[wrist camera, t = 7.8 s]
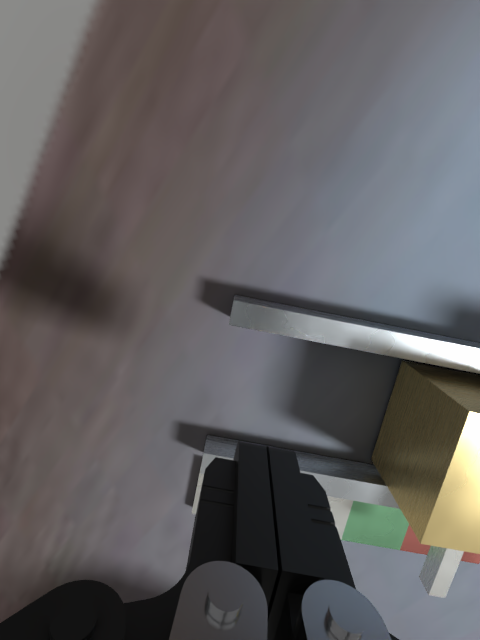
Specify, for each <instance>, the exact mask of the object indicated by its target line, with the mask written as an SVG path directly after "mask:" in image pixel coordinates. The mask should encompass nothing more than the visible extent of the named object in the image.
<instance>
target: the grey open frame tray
mask: <svg viewBox="0 0 480 640" xmlns="http://www.w3.org/2000/svg"><path fill="white" fill-rule="evenodd" d="M229 325H232V326H237V327H242V328H247V329H253V330H258V331H263V332H268V333H273V334H278V335H284V336H289V337H294V338H299V339H304V340H309V341H314V342H320V343H325V344H330V345H335V346H340V347H345V348H350V349H356V350H361V351H366V352H371V353H376V354H381V355H387V356H392V357H397V358H402V359H407V360H412V361H417V362H423V363H428V364H433V365H438V366H443V367H448V368H453V369H459V370H464V371H469V372H474V373H479V374H480V343H477V342H472V341H467V340H462V339H457V338H452V337H447V336H442V335H437V334H432V333H426V332H421V331H416V330H411V329H406V328H401V327H396V326H391V325H386V324H381V323H376V322H371V321H366V320H361V319H356V318H350V317H345V316H340V315H335V314H330V313H325V312H320V311H315V310H310V309H305V308H300V307H295V306H290V305H285V304H280V303H274V302H269V301H264V300H259V299H254V298H249V297H244V296H239V295H234V300H233V305H232V310H231V315H230V321H229ZM238 441H239V440H234V439H228V438H223V437H217V436H212V435H207V437H206V442H205V447H204V453H203V458H202V463H201V468H200V473H199V478H198V483H197V488H196V493H195V498H194V503H193V509H192V514H196V512H197V507H198V502H199V497H200V492H201V487H202V482H203V477H204V472H205V469H206V467H207V466H208V465H209V464H210V463H211V462H212V461H213V459H214V458H215V457H218V458H223V459H228V460H233V459H234V455H235V450H236V446H237V443H238ZM243 442H245V441H243ZM248 443H250V442H248ZM254 444H256V443H254ZM259 445H261V444H259ZM264 446H266V447H267V445H264ZM270 447H272V446H270ZM276 448H278V447H276ZM281 449H283V448H281ZM286 450H289V449H286ZM292 451H294V450H292ZM295 452H296V456H297V460H298V464H299V469H300V473H305V474H310V475H313V476H314V477H315V478H316V480H317V481H318V482H319V483H320V485H321V486H322V487H323V488H324V490H325V491H326V495H327V498H328V501H329V504H330V507H331V509H330V511H331V512H332V514H333V517H334V520H335V527H337V530H338V533H339V536H340V540H345V541H351V542H356V543H362V544H368V545H374V546H379V547H385V548H391V549H397V550H402V551H408V552H414V553H420V554H425V555H427V554H428V552H429V549H430V547H431V545H425V544H420V542H419V540H418V538H417V537H416V535H415V533H414V532H413V530H412V528H411V526H410V525H409V523H408V521H407V520H406V518H405V516H404V515H403V513H402V511H401V509H400V508H399V506H398V504H397V503H396V501H395V499H394V497H393V496H392V494H391V492H390V491H389V489H388V487H387V485H386V484H385V482H384V480H383V479H382V477H381V475H380V473H379V472H378V470H377V468H376V467H375V465H371V464H365V463H360V462H354V461H349V460H343V459H338V458H332V457H327V456H321V455H316V454H311V453H305V452H300V451H295ZM461 561H465V562H471V563H477V564H479V562H480V554H476V553H471V552H465V551H464V553H463V556H462V558H461Z"/></svg>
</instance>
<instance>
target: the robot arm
mask: <svg viewBox="0 0 480 640" xmlns="http://www.w3.org/2000/svg"><path fill="white" fill-rule="evenodd" d="M330 509H331V507H330V504H329V501H328V498H327V495H326V491H325V490H324V488H323V487H322V486H321V485H320V483H319V482H318V481H317V480H316V478H315V477H314V476H313V475H310V474H305V473H300V469H299V464H298V460H297V456H296V452H295V451H292V450H286V449H281V448H276V447H270V446H267V447H266V446H264V445H259V444H254V443H248V442H243V441H238V443H237V446H236V450H235V455H234V459H233V460H228V459H223V458H218V457H215V458H214V459H213V461H212V462H211V463H210V464H209V465H208V466H207V467H206V469H205V472H204V477H203V482H202V487H201V492H200V497H199V502H198V507H197V512H196V517H195V522H194V528H193V533H192V539H191V545H190V550H189V556H188V562H187V568H186V572H185V574H184V575H183V577H182V578H181V580H180V581H179V582H178V583H177V584H176V585H175V586H174V587H172V588H171V589H170V590H168V591H167V592H165V593H163V594H161V595H159V596H157V597H154V598H150V599H146V600H141V601H135V602H129V603H124V604H123V602H122V600H121V598H120V597H119V595H118V594H117V593H116V592H115V591H114V590H113V589H112V588H111V587H109V586H108V585H106V584H103V583H101V582H98V581H93V580H79V581H73V582H69V583H66V584H64V585H61V586H59V587H57V588H55V589H53V590H51V591H50V592H48V593H47V594H45V595H43V596H42V597H40V598H39V599H37V600H36V601H34V602H33V603H31V604H29V605H28V606H26V607H25V608H23V609H22V610H20V611H19V612H17V613H15V614H14V615H12V616H11V617H9V618H8V619H6V620H5V621H3V622H1V623H0V640H399V639H397V638H396V637H394V636H393V635H391V634H390V633H389V632H388V630H387V628H386V625H385V623H384V621H383V619H382V617H381V616H380V614H379V613H378V611H377V610H376V608H375V607H374V606H373V605H372V603H371V602H370V601H369V600H368V599H367V598H366V597H365V596H364V595H362V594H361V593H360V592H359V591H357V590H356V588H355V585H354V582H353V578H352V575H351V572H350V569H349V565H348V562H347V559H346V556H345V553H344V549H343V546H342V543H341V540H340V536H339V533H338V530H337V527H335V520H334V517H333V514H332V512H331V511H330Z"/></svg>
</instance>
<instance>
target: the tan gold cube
mask: <svg viewBox="0 0 480 640" xmlns="http://www.w3.org/2000/svg"><path fill="white" fill-rule="evenodd" d="M371 460H372V462H373V463H374V465H375V467H376V468H377V470H378V472H379V473H380V475H381V477H382V479H383V480H384V482H385V484H386V485H387V487H388V489H389V491H390V492H391V494H392V496H393V497H394V499H395V501H396V503H397V504H398V506H399V508H400V509H401V511H402V513H403V515H404V516H405V518H406V520H407V521H408V523H409V525H410V526H411V528H412V530H413V532H414V533H415V535H416V537H417V538H418V540H419V542H420V544H425V545H431V547H430V549H429V552H428V554H427V557H426V560H425V562H424V565H423V568H422V570H421V573H420V576H419V578H420V580H421V582H422V583H423V585H424V587H425V589H426V591H427V593H428V595H431V596H437V597H443V598H445V597H446V595H447V593H448V590H449V588H450V585H451V583H452V580H453V578H454V575H455V573H456V570H457V568H458V565H459V563H460V561H461V558H462V556H463V553H464V551H465V552H471V553H476V554H480V375H475V374H470V373H464V372H459V371H454V370H449V369H444V368H439V367H434V366H428V365H423V364H418V363H413V362H408V361H403V360H402V362H401V366H400V369H399V372H398V375H397V378H396V382H395V385H394V388H393V391H392V394H391V397H390V401H389V404H388V407H387V410H386V413H385V417H384V420H383V423H382V426H381V429H380V432H379V436H378V439H377V442H376V445H375V448H374V451H373V455H372V458H371Z"/></svg>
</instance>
